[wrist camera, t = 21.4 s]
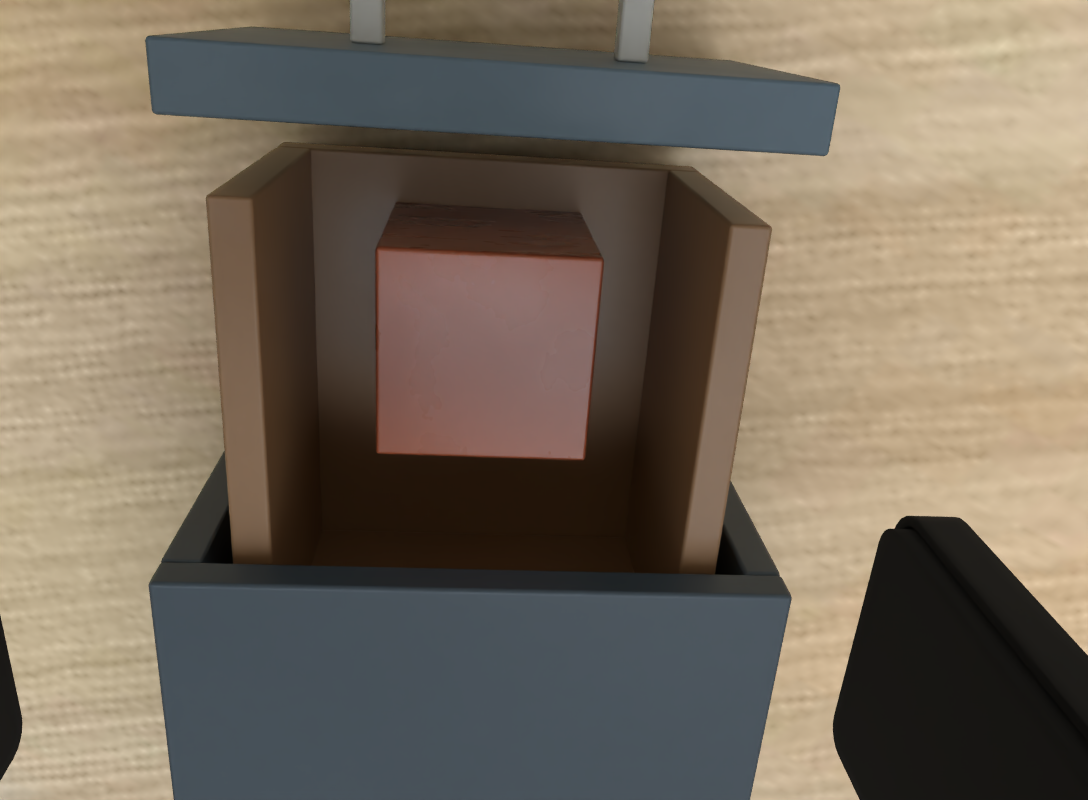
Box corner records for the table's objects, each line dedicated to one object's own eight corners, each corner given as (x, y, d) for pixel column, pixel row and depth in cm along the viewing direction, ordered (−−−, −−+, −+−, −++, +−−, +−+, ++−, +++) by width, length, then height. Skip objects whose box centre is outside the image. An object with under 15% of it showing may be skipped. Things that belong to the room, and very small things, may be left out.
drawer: (235, -248, 19) (104, -385, 12) (769, -197, 20) (913, -299, 13) (276, 531, 26) (206, 709, 20) (665, 541, 27) (726, 713, 21)
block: (394, 201, 22) (374, 246, 18) (582, 211, 22) (605, 258, 18) (393, 376, 24) (375, 455, 20) (567, 383, 24) (585, 461, 20)
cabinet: (254, 396, 26) (146, 583, 17) (696, 413, 27) (793, 596, 18) (277, 789, 31) (204, 1073, 23) (641, 790, 32) (697, 1060, 24)
